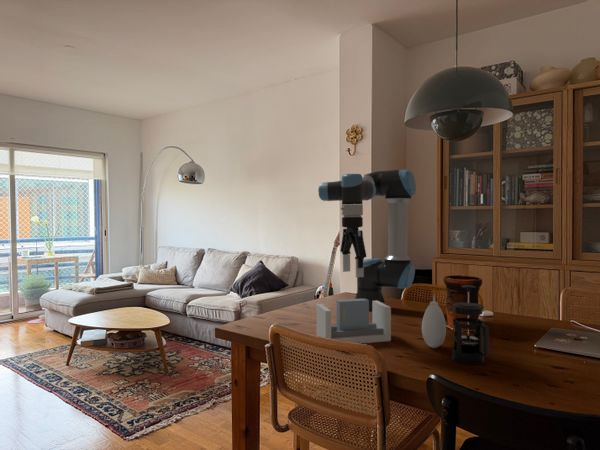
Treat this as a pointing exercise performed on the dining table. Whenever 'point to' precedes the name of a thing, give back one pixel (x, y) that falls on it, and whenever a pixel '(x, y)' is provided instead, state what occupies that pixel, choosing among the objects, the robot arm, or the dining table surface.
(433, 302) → the white air blower bulb
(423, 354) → the dining table surface
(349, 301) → the sliding door panel
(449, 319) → the vessel
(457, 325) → the french press
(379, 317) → the door track
